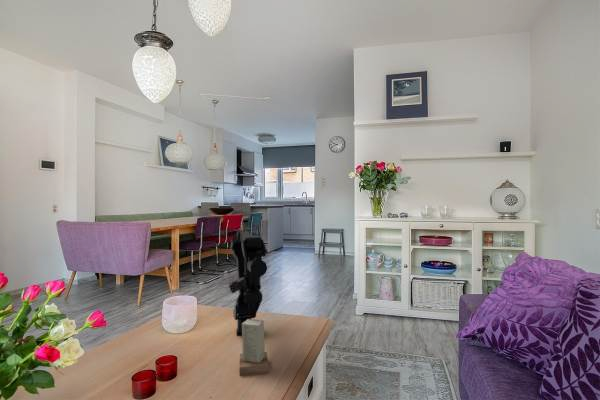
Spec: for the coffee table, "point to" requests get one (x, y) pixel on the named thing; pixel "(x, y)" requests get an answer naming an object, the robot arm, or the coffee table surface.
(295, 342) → the coffee table surface
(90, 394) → the coffee table surface
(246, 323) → the skincare box
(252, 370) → the walnut plinth
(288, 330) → the coffee table surface
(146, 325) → the coffee table surface
